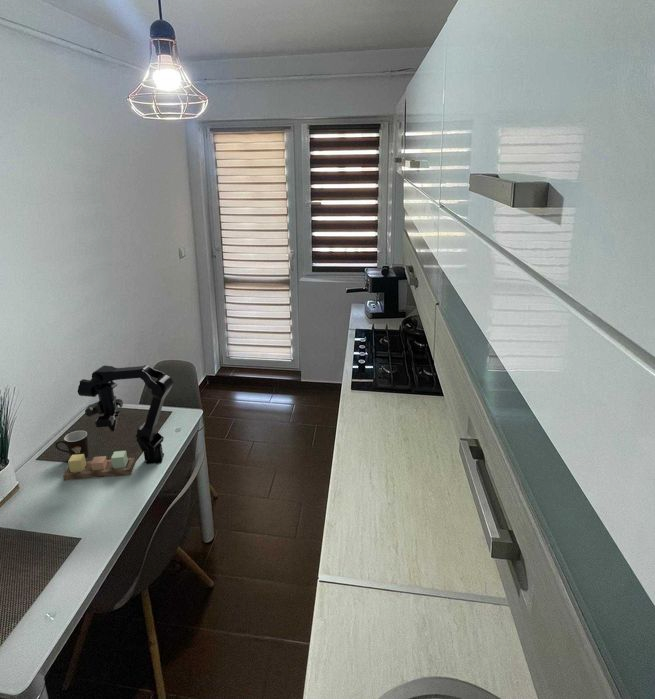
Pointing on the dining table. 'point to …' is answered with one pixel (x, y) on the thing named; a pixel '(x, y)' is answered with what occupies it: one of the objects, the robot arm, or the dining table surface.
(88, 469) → the brown wooden board
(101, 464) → the terracotta cube
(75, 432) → the coffee mug
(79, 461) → the yellow cube
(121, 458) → the mint green cube
